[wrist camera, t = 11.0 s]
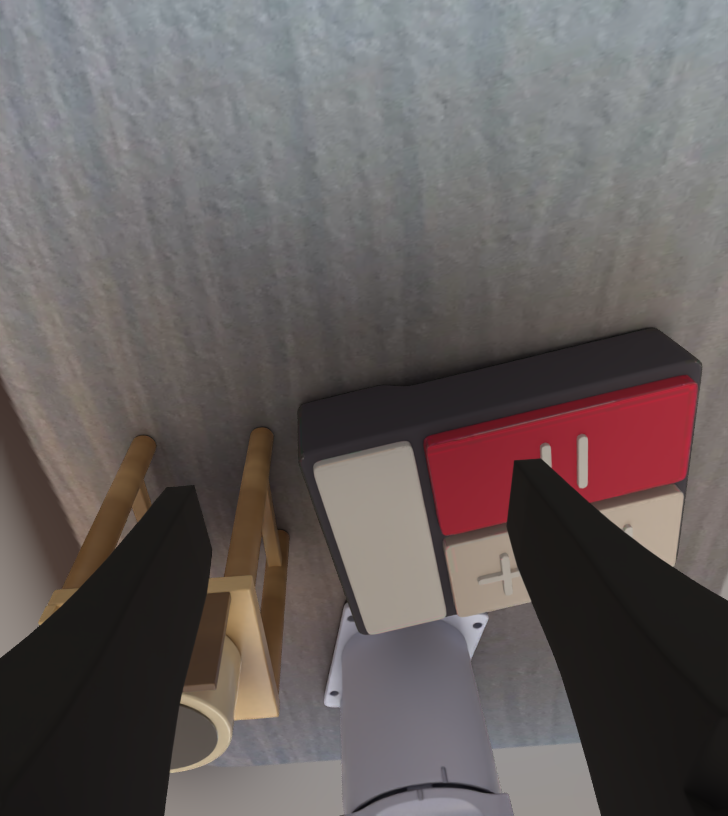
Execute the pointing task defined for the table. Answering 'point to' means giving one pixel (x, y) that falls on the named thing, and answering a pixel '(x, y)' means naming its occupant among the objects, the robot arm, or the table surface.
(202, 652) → the wooden l-shaped block
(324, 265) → the table surface
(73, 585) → the stand
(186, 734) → the pan
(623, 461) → the calculator
